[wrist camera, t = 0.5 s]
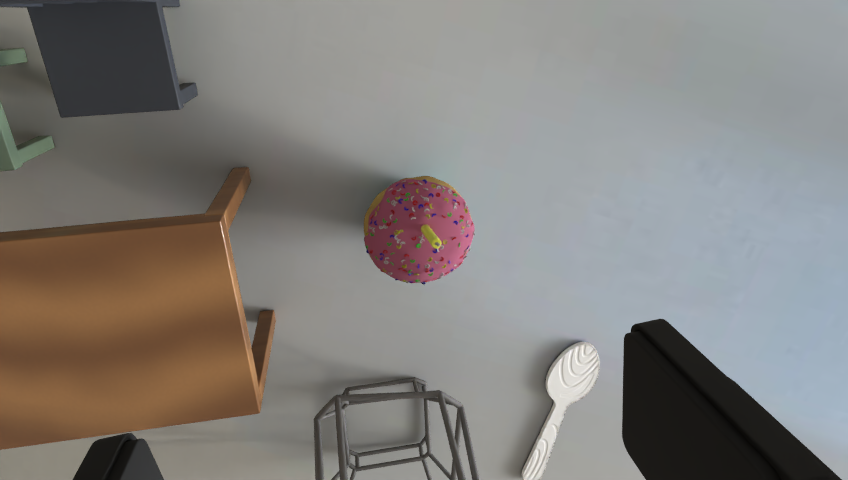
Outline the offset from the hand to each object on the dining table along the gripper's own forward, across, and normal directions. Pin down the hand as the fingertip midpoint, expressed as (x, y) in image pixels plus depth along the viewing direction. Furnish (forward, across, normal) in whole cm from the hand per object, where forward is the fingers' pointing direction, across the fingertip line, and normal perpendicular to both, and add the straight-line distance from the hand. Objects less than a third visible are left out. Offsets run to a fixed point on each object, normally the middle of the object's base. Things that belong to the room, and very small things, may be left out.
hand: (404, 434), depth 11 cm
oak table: (+34, +20, +8) cm, 41 cm away
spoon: (+34, -15, +34) cm, 51 cm away
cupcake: (+34, -4, +9) cm, 36 cm away
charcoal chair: (+34, +13, -7) cm, 38 cm away
